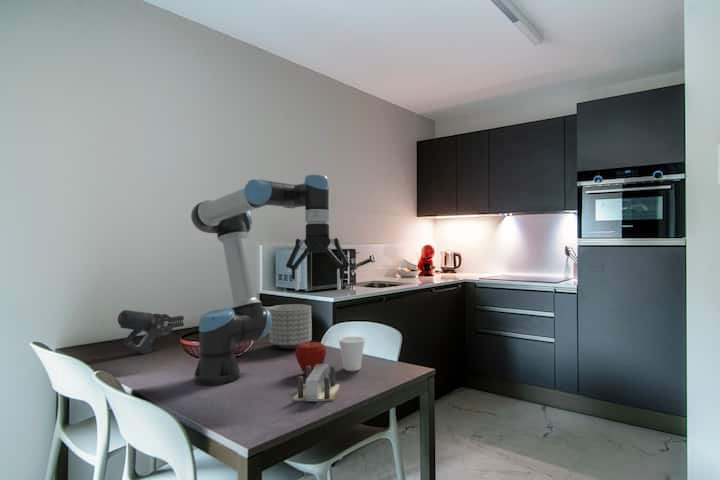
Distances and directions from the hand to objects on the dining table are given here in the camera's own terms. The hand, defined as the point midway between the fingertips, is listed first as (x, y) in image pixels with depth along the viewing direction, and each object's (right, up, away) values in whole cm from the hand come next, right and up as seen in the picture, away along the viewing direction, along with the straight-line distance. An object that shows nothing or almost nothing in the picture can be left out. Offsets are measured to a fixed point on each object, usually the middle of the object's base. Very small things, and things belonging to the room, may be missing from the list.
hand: (318, 289), depth 132 cm
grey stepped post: (0, -31, -4) cm, 31 cm away
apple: (-4, -32, +15) cm, 36 cm away
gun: (-79, -34, +51) cm, 100 cm away
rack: (0, -32, -4) cm, 32 cm away
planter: (-18, -33, +56) cm, 68 cm away
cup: (+11, -32, +21) cm, 40 cm away
